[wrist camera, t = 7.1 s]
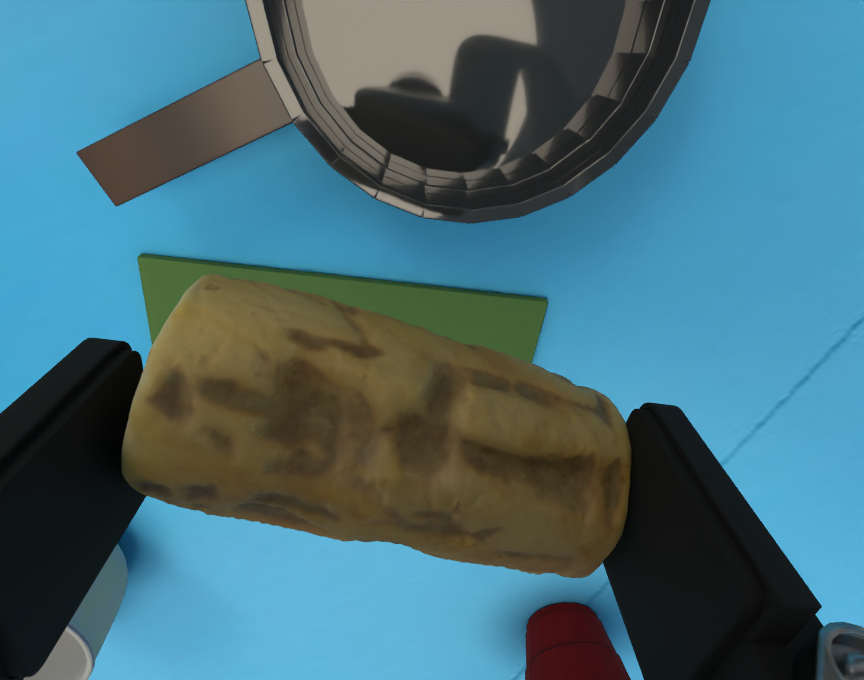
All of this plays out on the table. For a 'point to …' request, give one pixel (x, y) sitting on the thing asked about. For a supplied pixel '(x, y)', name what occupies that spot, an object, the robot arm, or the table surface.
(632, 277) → the table surface
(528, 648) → the plastic cup
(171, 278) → the green mat
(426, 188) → the pan
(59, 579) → the robot arm
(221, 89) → the pan handle
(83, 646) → the teacup
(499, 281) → the table surface
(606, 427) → the carved stone cylinder
